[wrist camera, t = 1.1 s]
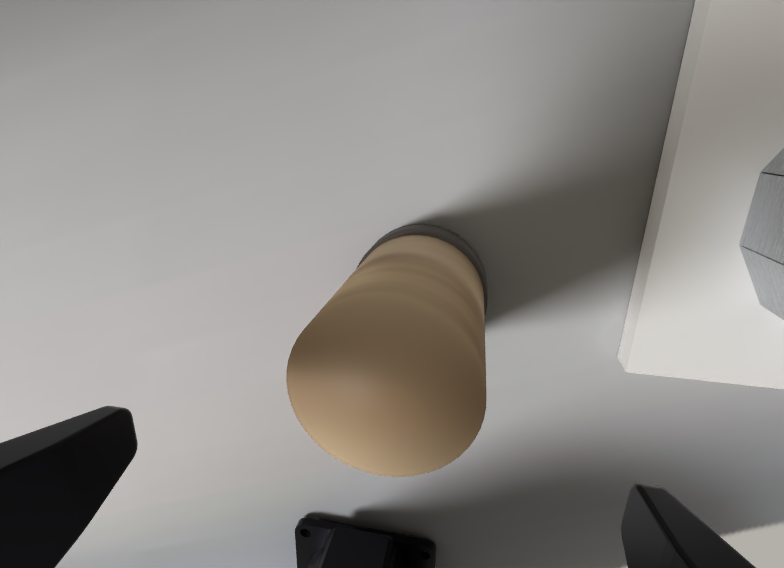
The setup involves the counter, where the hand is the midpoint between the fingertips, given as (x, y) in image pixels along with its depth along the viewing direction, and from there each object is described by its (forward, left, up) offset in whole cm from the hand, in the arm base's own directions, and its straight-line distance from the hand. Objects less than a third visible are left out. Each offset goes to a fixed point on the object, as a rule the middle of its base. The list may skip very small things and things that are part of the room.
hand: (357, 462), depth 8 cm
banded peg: (0, 0, -9) cm, 9 cm away
